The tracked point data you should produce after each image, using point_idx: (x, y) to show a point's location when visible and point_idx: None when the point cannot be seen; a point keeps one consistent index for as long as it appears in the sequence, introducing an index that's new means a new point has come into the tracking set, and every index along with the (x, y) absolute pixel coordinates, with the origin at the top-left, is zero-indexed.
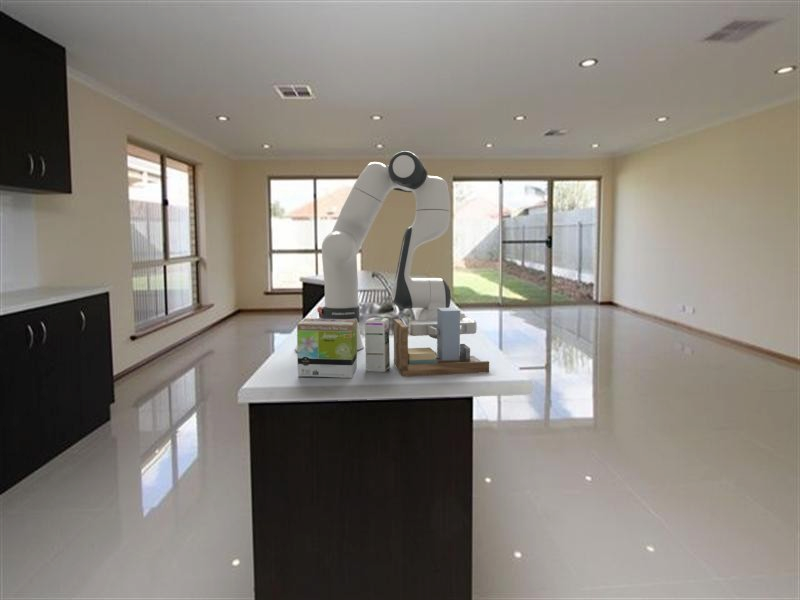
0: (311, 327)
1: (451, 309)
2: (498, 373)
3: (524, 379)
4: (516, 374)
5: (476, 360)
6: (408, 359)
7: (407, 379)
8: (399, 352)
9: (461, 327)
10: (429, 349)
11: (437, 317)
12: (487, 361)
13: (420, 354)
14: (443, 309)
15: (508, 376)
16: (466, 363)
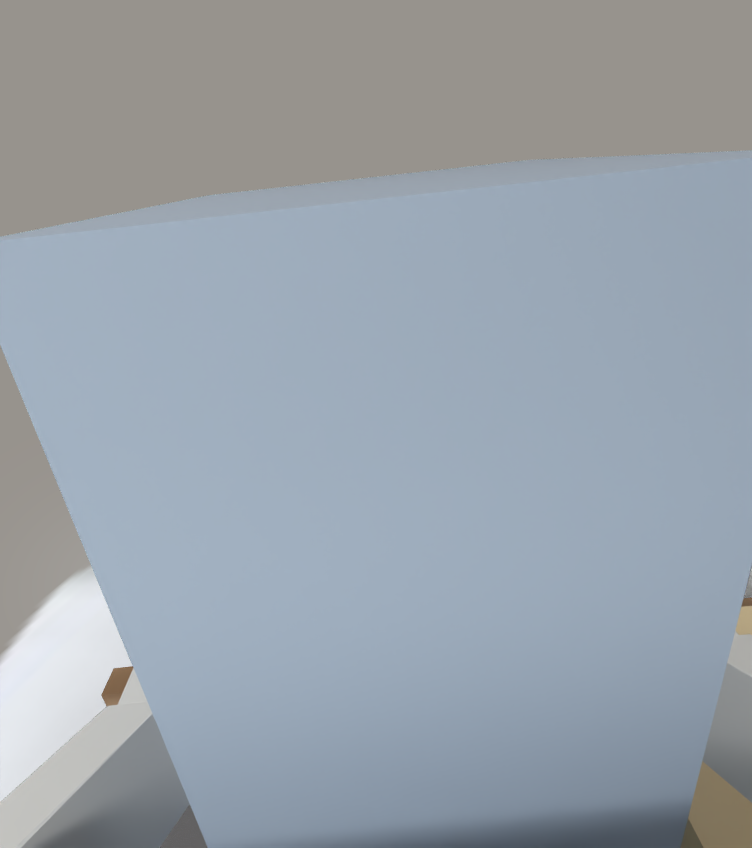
0: None
1: (314, 187)
2: (97, 698)
3: (64, 584)
4: (8, 670)
5: None
6: None
7: (746, 595)
8: None
9: (37, 792)
10: (721, 803)
11: (738, 519)
12: (121, 676)
13: (747, 613)
14: (518, 166)
15: (94, 633)
16: None
